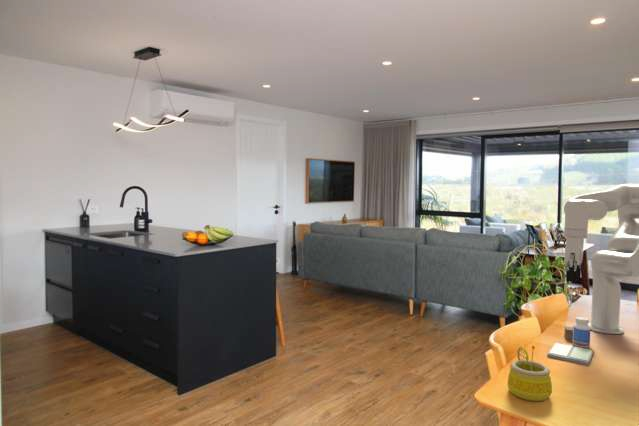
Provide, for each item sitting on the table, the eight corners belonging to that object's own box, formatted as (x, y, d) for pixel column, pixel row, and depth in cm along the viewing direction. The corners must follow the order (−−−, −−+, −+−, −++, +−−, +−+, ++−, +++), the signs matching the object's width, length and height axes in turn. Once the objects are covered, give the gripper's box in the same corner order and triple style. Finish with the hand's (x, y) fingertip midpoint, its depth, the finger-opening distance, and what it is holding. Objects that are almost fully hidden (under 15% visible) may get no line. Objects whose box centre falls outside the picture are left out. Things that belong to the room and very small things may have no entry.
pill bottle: (592, 348, 161) (593, 321, 161) (575, 347, 162) (576, 320, 162) (586, 343, 167) (587, 317, 166) (570, 342, 168) (571, 315, 167)
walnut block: (564, 336, 174) (564, 326, 174) (576, 338, 173) (576, 327, 172) (565, 339, 170) (566, 329, 170) (577, 341, 169) (578, 330, 169)
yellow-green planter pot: (549, 408, 117) (551, 362, 116) (504, 397, 123) (505, 353, 122) (554, 389, 128) (556, 347, 127) (512, 380, 134) (513, 340, 133)
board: (554, 345, 164) (554, 342, 164) (593, 352, 157) (593, 349, 157) (547, 356, 153) (547, 353, 153) (588, 365, 146) (588, 361, 146)
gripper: (568, 231, 178) (566, 275, 179) (560, 234, 164) (557, 281, 165) (590, 232, 173) (588, 277, 174) (584, 236, 160) (581, 284, 161)
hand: (573, 279), depth 170 cm, fingers open, 9 cm apart
